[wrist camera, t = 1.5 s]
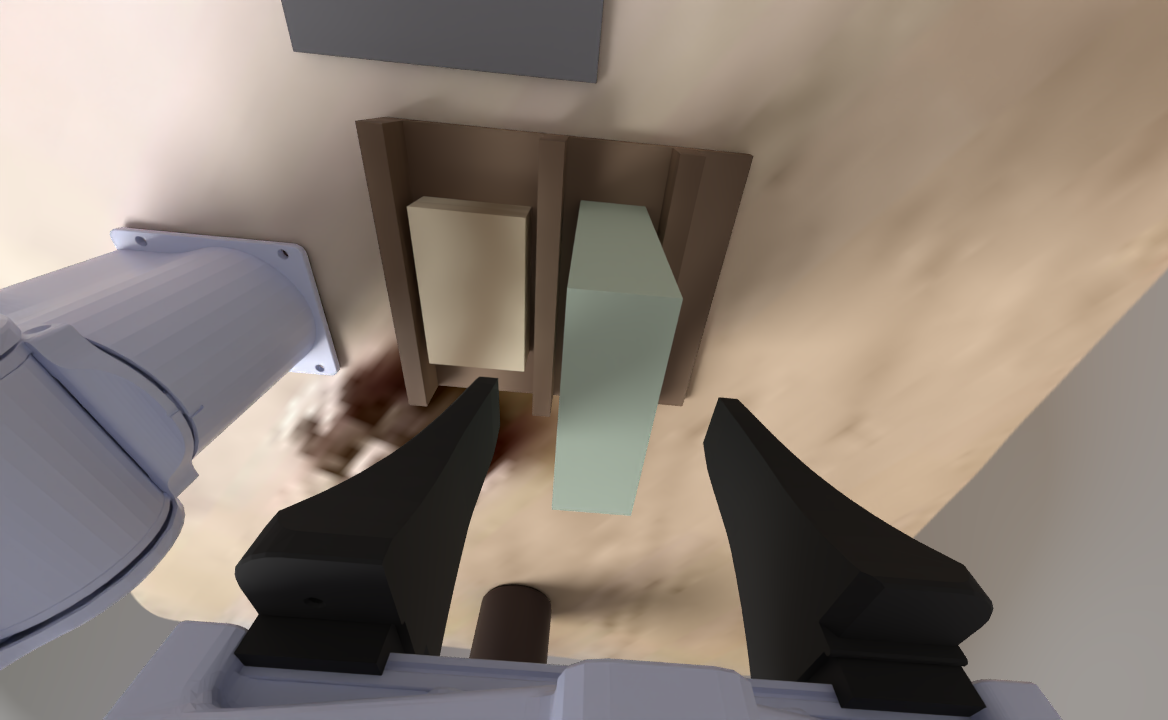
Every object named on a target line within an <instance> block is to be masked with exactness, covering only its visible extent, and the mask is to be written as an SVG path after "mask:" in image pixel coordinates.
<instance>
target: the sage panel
mask: <svg viewBox="0 0 1168 720" xmlns="http://www.w3.org/2000/svg"><path fill="white" fill-rule="evenodd" d="M682 301H683V298H682V295H681V293H680V290H679V288H678V285H677V283H676V280H675V278H674V275H673V273H672V270H671V268H670V266H669V263H668V261H667V258H666V256H665V253H664V251H663V248H662V246H661V243H660V241H659V238H658V236H657V234H656V231H655V229H654V226H653V224H652V221H651V219H650V216H649V214H648V211H647V209H646V207H645V206H635V205H625V204H615V203H604V202H594V201H584V200H581V202H580V208H579V215H578V221H577V228H576V234H575V241H574V247H573V254H572V260H571V266H570V273H569V279H568V286H567V297H566V312H565V326H564V341H563V355H562V370H561V384H560V398H559V413H558V427H557V442H556V456H555V470H554V485H553V499H552V510H565V511H578V512H590V513H603V514H615V515H628V516H631V513H632V509H633V505H634V501H635V496H636V492H637V488H638V484H639V480H640V476H641V471H642V467H643V463H644V459H645V455H646V451H647V446H648V442H649V438H650V434H651V430H652V426H653V421H654V417H655V413H656V409H657V405H658V401H659V396H660V392H661V388H662V384H663V380H664V376H665V371H666V367H667V363H668V359H669V355H670V351H671V346H672V342H673V338H674V334H675V330H676V326H677V322H678V317H679V313H680V309H681V305H682Z"/></svg>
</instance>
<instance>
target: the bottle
mask: <svg viewBox="0 0 1168 720" xmlns="http://www.w3.org/2000/svg"><path fill="white" fill-rule="evenodd" d="M550 621H551V604H550V601H549V600H548V598H547V597H546V596H545V595H544V594H542V593H541V592H539V591H538V590H535V589H532V588H529V587H525V586H519V585H506V586H501V587H497V588H495V589H493V590H490V591H489V592H488V593H487V594H486V595H485V596H484V597H483V600H482V604H481V608H480V613H479V617H478V622H477V626H476V630H475V635H474V639H473V644H472V648H471V653H470V657H469V658H471V659H485V660H499V661H513V662H527V663H541V664H547V655H548V643H549V632H550Z"/></svg>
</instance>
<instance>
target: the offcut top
mask: <svg viewBox="0 0 1168 720" xmlns="http://www.w3.org/2000/svg"><path fill="white" fill-rule="evenodd" d="M407 212H408V219H409V226H410V233H411V240H412V246H413V253H414V260H415V267H416V274H417V281H418V288H419V295H420V302H421V309H422V315H423V322H424V329H425V336H426V343H427V350H428V357H429V363H431V364H442V365H454V366H465V367H476V368H488V369H499V370H511V371H522V372H524V370H525V366H526V362H527V303H528V223H529V212H523V211H513V210H502V209H492V208H482V207H471V206H461V205H451V204H440V203H430V202H420V201H415V202H413V203H412V204H410V205H408V206H407Z"/></svg>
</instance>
